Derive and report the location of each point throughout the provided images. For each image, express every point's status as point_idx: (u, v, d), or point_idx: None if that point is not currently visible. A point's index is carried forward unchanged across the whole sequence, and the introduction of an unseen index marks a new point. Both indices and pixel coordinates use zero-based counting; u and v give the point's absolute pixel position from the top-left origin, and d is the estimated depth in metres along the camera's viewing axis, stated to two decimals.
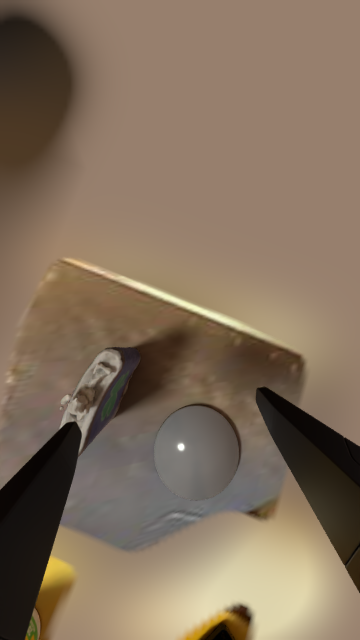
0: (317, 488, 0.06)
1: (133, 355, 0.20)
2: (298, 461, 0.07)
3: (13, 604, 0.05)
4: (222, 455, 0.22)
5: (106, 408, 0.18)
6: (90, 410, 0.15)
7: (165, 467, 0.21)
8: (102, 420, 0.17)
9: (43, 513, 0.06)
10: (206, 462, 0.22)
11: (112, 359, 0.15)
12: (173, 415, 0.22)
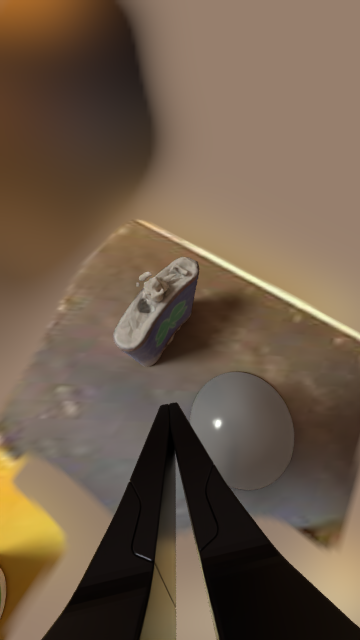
0: (189, 516, 0.06)
1: None
2: None
3: None
4: (272, 438, 0.18)
5: (161, 330, 0.16)
6: (158, 306, 0.14)
7: (201, 434, 0.18)
8: (155, 340, 0.16)
9: (171, 486, 0.07)
10: (252, 441, 0.18)
11: (188, 265, 0.15)
12: (219, 376, 0.20)
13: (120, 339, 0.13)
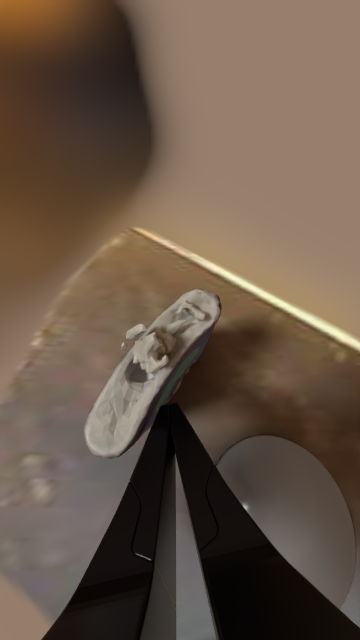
0: (189, 516, 0.06)
1: None
2: None
3: None
4: (324, 541, 0.12)
5: (164, 393, 0.11)
6: (159, 373, 0.08)
7: None
8: (156, 411, 0.11)
9: (171, 486, 0.07)
10: (295, 547, 0.12)
11: (205, 303, 0.10)
12: (243, 443, 0.14)
13: (95, 439, 0.07)
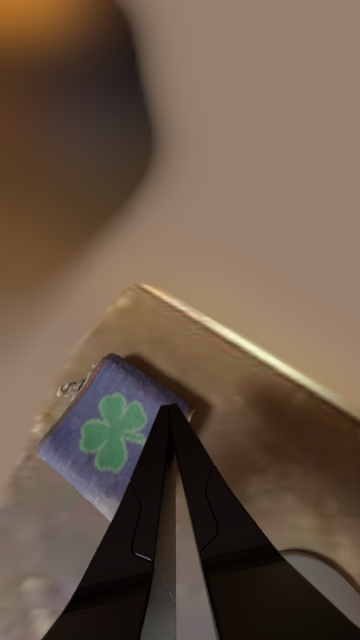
0: (189, 516, 0.06)
1: (148, 383, 0.15)
2: None
3: None
4: None
5: (94, 438, 0.14)
6: None
7: None
8: (82, 450, 0.14)
9: (171, 486, 0.07)
10: None
11: None
12: None
13: None
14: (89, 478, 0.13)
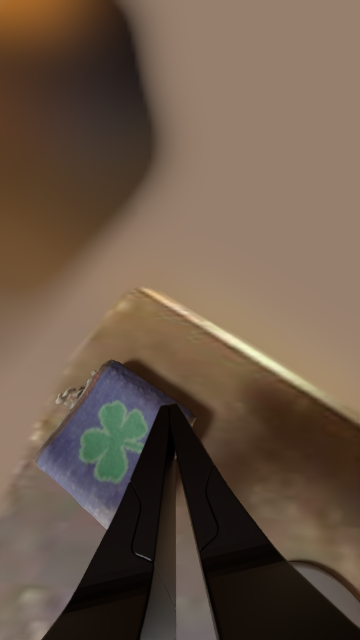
0: (189, 516, 0.06)
1: (149, 391, 0.15)
2: None
3: None
4: None
5: (94, 447, 0.14)
6: None
7: None
8: (81, 459, 0.13)
9: (171, 486, 0.07)
10: None
11: None
12: None
13: None
14: (89, 489, 0.13)
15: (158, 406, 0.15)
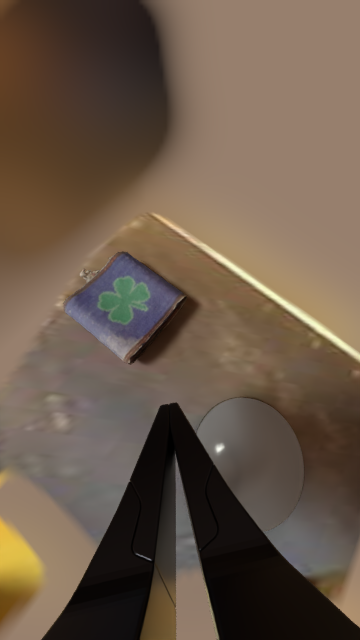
0: None
1: (153, 273, 0.20)
2: None
3: None
4: (281, 476, 0.16)
5: (108, 302, 0.18)
6: None
7: None
8: (99, 308, 0.18)
9: (171, 486, 0.07)
10: (258, 478, 0.16)
11: None
12: (228, 401, 0.18)
13: None
14: (104, 324, 0.17)
15: (159, 282, 0.19)
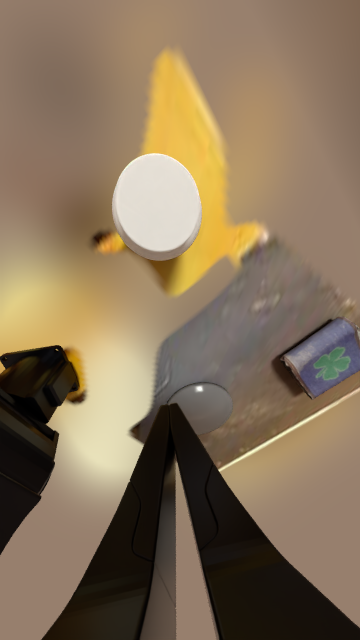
0: (189, 516, 0.06)
1: (339, 382, 0.25)
2: None
3: None
4: None
5: (334, 353, 0.23)
6: None
7: (204, 390, 0.26)
8: (335, 348, 0.23)
9: (171, 486, 0.07)
10: (189, 414, 0.27)
11: None
12: (231, 406, 0.28)
13: None
14: (321, 352, 0.23)
15: (331, 386, 0.25)
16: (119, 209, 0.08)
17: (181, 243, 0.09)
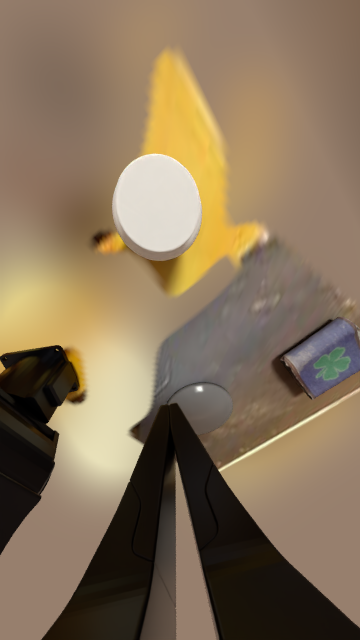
0: (189, 516, 0.06)
1: (339, 382, 0.25)
2: None
3: None
4: None
5: (334, 353, 0.23)
6: None
7: (204, 391, 0.26)
8: (335, 348, 0.23)
9: (171, 486, 0.07)
10: (189, 415, 0.27)
11: None
12: (231, 406, 0.28)
13: None
14: (321, 352, 0.23)
15: (331, 387, 0.25)
16: (119, 209, 0.08)
17: (181, 243, 0.09)
